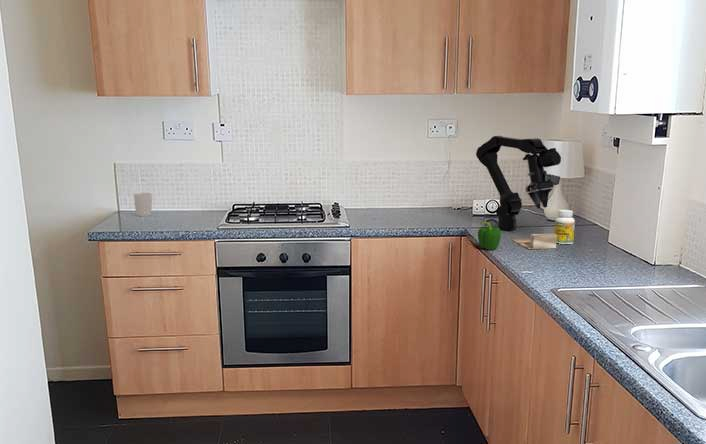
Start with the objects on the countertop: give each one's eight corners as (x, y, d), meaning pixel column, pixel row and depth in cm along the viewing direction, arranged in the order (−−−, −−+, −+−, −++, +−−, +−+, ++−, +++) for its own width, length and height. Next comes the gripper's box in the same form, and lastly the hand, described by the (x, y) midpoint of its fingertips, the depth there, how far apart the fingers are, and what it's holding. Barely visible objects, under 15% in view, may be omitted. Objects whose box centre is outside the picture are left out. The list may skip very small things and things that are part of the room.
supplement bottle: (574, 242, 239) (577, 210, 236) (571, 246, 233) (574, 213, 230) (555, 240, 242) (558, 208, 240) (551, 243, 236) (554, 211, 233)
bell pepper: (505, 249, 228) (506, 222, 226) (491, 252, 222) (493, 225, 220) (486, 244, 234) (487, 219, 232) (473, 248, 228) (474, 222, 226)
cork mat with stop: (511, 240, 242) (512, 226, 241) (540, 239, 243) (541, 226, 242) (529, 250, 226) (530, 235, 225) (559, 249, 228) (560, 235, 227)
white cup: (131, 216, 285) (130, 194, 283) (141, 213, 292) (140, 192, 290) (146, 217, 282) (144, 195, 280) (156, 214, 290) (154, 193, 288)
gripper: (563, 163, 236) (569, 203, 236) (549, 168, 254) (555, 205, 254) (535, 168, 236) (541, 208, 236) (522, 172, 255) (528, 209, 254)
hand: (542, 207), depth 245 cm, fingers open, 9 cm apart
